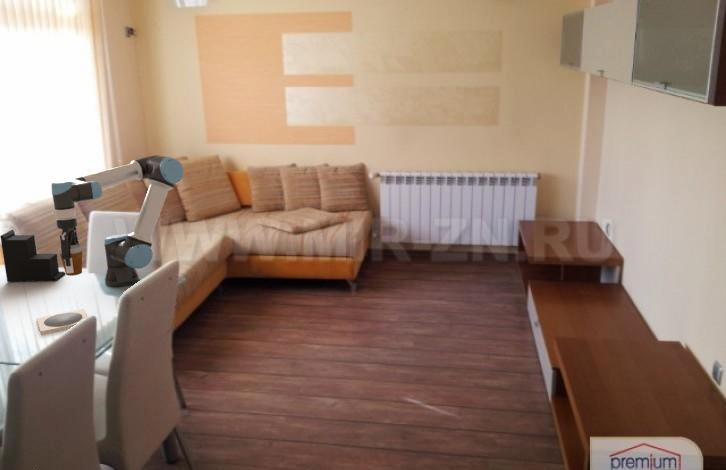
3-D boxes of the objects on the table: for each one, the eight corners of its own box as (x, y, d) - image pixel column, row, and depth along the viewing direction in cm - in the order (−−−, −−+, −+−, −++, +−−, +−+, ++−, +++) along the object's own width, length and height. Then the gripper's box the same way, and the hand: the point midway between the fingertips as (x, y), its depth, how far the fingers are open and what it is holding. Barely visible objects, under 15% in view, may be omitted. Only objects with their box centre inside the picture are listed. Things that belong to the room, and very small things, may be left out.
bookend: (65, 274, 300) (59, 229, 293) (56, 281, 289) (49, 234, 283) (17, 275, 298) (10, 229, 292) (6, 282, 288) (-2, 235, 281)
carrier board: (84, 312, 253) (84, 308, 252) (91, 324, 241) (90, 320, 240) (36, 321, 243) (36, 318, 243) (41, 334, 231) (40, 331, 231)
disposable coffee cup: (63, 271, 259) (59, 244, 256) (87, 268, 262) (83, 242, 258) (60, 278, 250) (55, 250, 247) (84, 275, 253) (80, 248, 250)
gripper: (64, 212, 259) (71, 262, 265) (47, 224, 239) (55, 278, 245) (83, 211, 260) (89, 261, 266) (67, 223, 240) (75, 277, 246)
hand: (73, 269), depth 256 cm, fingers closed on disposable coffee cup, 8 cm apart
